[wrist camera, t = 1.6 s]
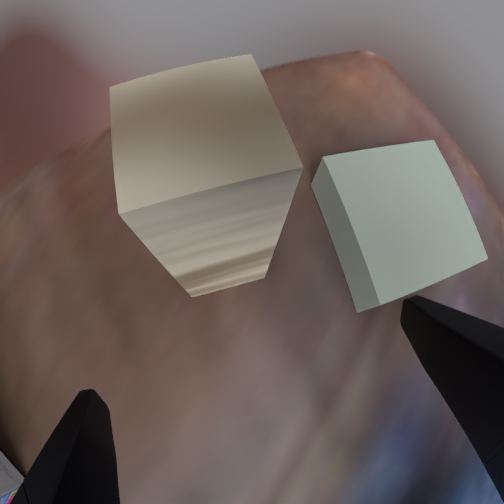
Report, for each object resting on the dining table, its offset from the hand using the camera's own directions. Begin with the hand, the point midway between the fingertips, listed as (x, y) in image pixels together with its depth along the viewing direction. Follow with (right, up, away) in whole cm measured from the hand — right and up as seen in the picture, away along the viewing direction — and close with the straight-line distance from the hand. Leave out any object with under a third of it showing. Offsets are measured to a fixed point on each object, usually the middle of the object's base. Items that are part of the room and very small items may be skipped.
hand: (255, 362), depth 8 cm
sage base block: (+11, +5, +15) cm, 19 cm away
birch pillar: (-2, +3, +14) cm, 15 cm away
